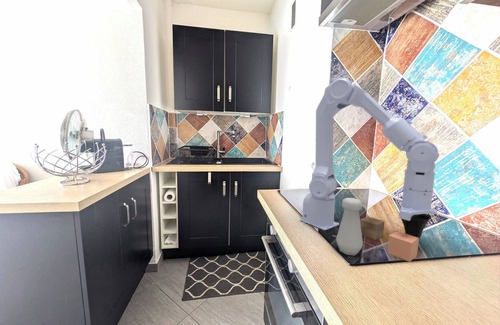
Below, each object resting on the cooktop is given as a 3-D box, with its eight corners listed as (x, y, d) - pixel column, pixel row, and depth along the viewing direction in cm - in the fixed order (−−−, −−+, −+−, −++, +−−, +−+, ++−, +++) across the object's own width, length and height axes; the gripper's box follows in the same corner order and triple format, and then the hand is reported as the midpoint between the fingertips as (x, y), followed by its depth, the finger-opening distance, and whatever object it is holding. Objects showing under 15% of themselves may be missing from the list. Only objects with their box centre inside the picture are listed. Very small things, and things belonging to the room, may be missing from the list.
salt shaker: (365, 259, 47) (369, 203, 46) (338, 256, 48) (342, 201, 47) (357, 246, 53) (361, 196, 51) (333, 243, 54) (336, 195, 53)
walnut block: (359, 234, 60) (360, 219, 60) (366, 230, 63) (368, 216, 62) (375, 240, 56) (377, 224, 56) (383, 236, 59) (384, 221, 58)
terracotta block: (387, 253, 50) (389, 235, 50) (395, 247, 53) (396, 231, 52) (409, 262, 46) (411, 243, 46) (416, 256, 49) (418, 238, 49)
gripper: (428, 197, 44) (422, 257, 46) (446, 188, 53) (440, 239, 54) (391, 190, 50) (386, 243, 51) (413, 183, 58) (408, 230, 60)
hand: (412, 241), depth 53 cm, fingers closed
